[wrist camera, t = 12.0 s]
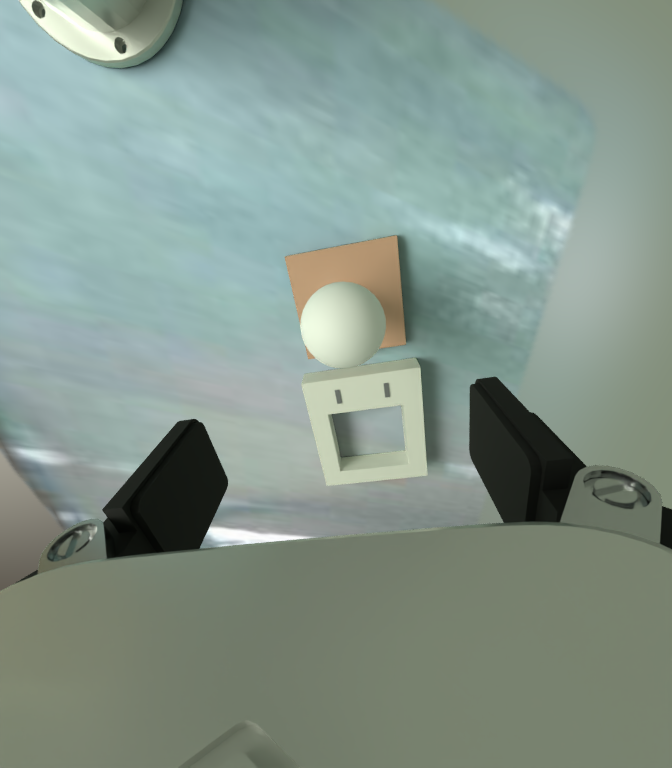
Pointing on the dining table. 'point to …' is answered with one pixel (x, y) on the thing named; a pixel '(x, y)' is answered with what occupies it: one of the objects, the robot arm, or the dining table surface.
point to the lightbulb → (343, 324)
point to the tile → (354, 278)
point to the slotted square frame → (361, 393)
